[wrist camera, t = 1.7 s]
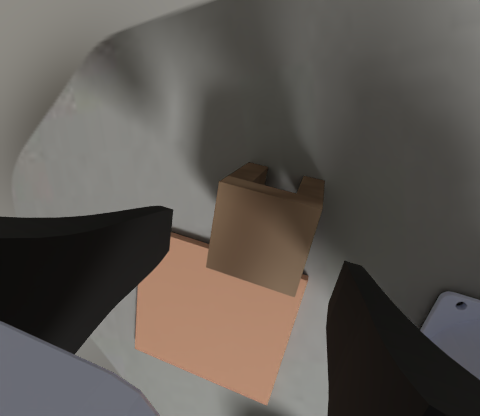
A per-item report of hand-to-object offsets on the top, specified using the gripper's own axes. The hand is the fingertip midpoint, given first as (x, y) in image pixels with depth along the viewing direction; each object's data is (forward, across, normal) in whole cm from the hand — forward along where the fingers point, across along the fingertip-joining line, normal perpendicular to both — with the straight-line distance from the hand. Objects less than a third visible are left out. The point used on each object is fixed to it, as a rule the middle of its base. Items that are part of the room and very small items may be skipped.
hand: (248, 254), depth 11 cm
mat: (+6, +3, +10) cm, 12 cm away
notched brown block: (+6, 0, 0) cm, 6 cm away
